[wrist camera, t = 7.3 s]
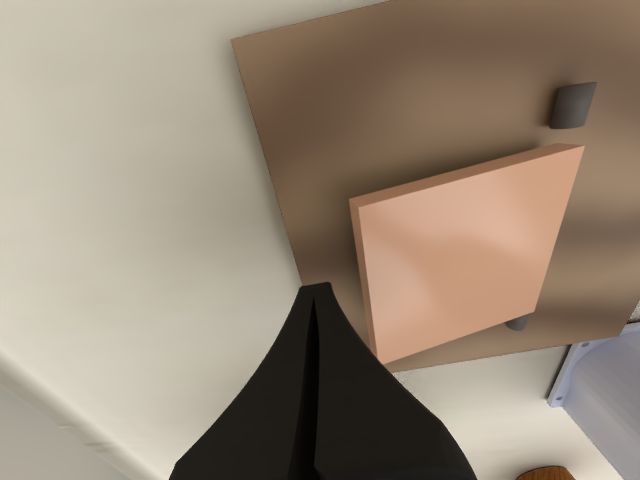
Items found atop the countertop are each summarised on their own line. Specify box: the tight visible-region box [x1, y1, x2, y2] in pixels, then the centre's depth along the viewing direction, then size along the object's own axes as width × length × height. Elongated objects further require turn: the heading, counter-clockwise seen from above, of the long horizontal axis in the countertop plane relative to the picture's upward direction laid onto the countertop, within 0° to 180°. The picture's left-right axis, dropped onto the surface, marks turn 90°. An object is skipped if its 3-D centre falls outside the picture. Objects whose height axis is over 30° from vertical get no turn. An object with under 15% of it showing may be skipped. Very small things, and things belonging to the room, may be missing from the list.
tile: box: [349, 143, 585, 364], centre depth 11 cm, size 9×1×9 cm
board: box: [231, 0, 640, 373], centre depth 12 cm, size 20×20×2 cm
